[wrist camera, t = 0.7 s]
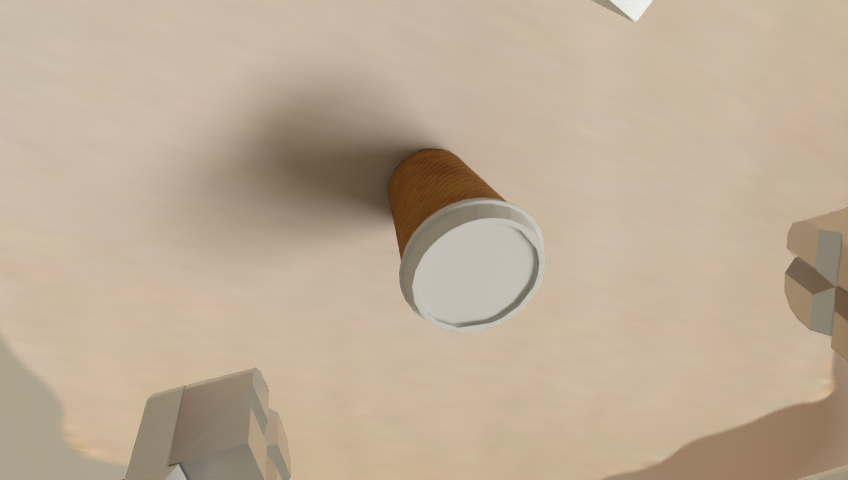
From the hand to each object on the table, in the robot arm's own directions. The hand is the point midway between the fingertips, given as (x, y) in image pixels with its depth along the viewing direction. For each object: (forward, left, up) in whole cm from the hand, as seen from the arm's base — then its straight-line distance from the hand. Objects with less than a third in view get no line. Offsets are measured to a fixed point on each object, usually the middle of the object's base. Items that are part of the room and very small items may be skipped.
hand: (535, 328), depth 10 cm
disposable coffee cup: (+19, +6, -37) cm, 42 cm away
